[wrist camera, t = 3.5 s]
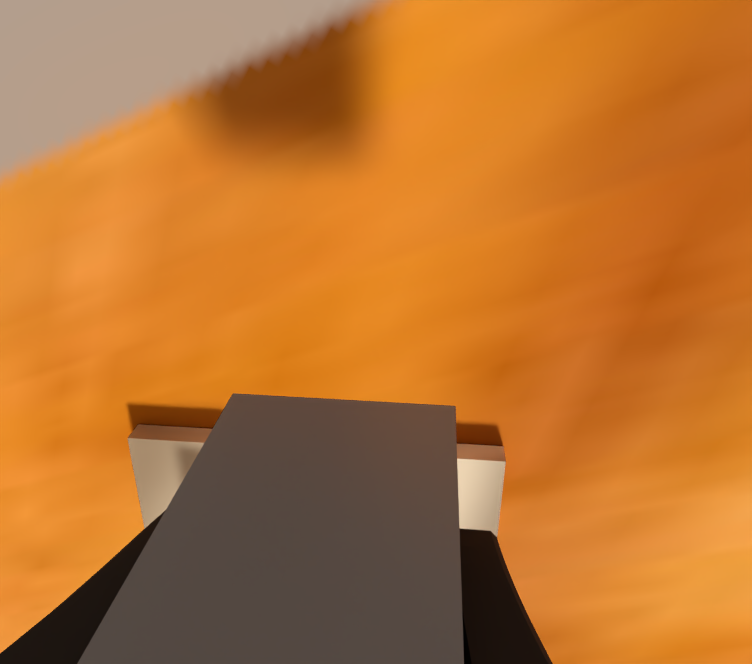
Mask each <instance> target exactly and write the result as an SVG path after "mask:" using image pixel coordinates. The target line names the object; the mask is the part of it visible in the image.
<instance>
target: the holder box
mask: <svg viewBox="0 0 752 664" xmlns="http://www.w3.org/2000/svg"><path fill="white" fill-rule="evenodd" d="M211 431H212V429H208V428H192V427H175V426H158V425H142V424H138V425H137V426H136V428H135V429H134V430H133V432H132V433H131V434H130V436H129V437H128V443H129V448H130V454H131V459H132V464H133V470H134V475H135V480H136V485H137V491H138V496H139V501H140V507H141V512H142V517H143V523H144V528H146V527H147V526H148V525H149V524H150V523H151V522H153V521H154V520H155V519H156V518H157V517H158V516H159V515H161V514H162V513H163V512H164V511H165V510H166V509H167V507H168V505H169V504H170V502H171V500H172V498H173V497H174V495H175V493H176V491H177V490H178V488H179V486H180V484H181V483H182V481H183V479H184V478H185V476H186V474H187V472H188V471H189V469H190V467H191V465H192V464H193V462H194V460H195V458H196V457H197V455H198V453H199V451H200V450H201V448H202V446H203V445H204V443H205V441H206V439H207V438H208V436H209V434H210V432H211ZM505 464H506V460H505V453H504V446H490V445H473V444H457V468H458V498H459V528H461V529H475V530H488V531H491V532H492V533H493V534H494V535H495V536H496V537H497V534H498V525H499V516H500V507H501V499H502V490H503V481H504V472H505Z"/></svg>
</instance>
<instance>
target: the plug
mask: <svg viewBox="0 0 752 664" xmlns="http://www.w3.org/2000/svg"><path fill="white" fill-rule="evenodd" d="M77 664H464V647H463V618H462V588H461V558H460V528H459V498H458V468H457V439H456V409H455V406H446V405H428V404H410V403H392V402H375V401H357V400H339V399H321V398H304V397H286V396H268V395H250V394H232V396H231V398H230V399H229V401H228V403H227V405H226V406H225V408H224V410H223V412H222V413H221V415H220V417H219V419H218V420H217V422H216V424H215V425H214V427H213V429H212V431H211V432H210V434H209V436H208V438H207V439H206V441H205V443H204V445H203V446H202V448H201V450H200V451H199V453H198V455H197V457H196V458H195V460H194V462H193V464H192V465H191V467H190V469H189V471H188V472H187V474H186V476H185V478H184V479H183V481H182V483H181V484H180V486H179V488H178V490H177V491H176V493H175V495H174V497H173V498H172V500H171V502H170V504H169V505H168V507H167V509H166V511H165V512H164V514H163V516H162V517H161V519H160V521H159V523H158V524H157V526H156V528H155V530H154V531H153V533H152V535H151V537H150V538H149V540H148V542H147V544H146V545H145V547H144V549H143V550H142V552H141V554H140V556H139V557H138V559H137V561H136V563H135V564H134V566H133V568H132V570H131V571H130V573H129V575H128V577H127V578H126V580H125V582H124V583H123V585H122V587H121V589H120V590H119V592H118V594H117V596H116V597H115V599H114V601H113V603H112V604H111V606H110V608H109V610H108V611H107V613H106V615H105V616H104V618H103V620H102V622H101V623H100V625H99V627H98V629H97V630H96V632H95V634H94V636H93V637H92V639H91V641H90V643H89V644H88V646H87V648H86V649H85V651H84V653H83V655H82V656H81V658H80V660H79V662H78V663H77Z"/></svg>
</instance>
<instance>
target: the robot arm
mask: <svg viewBox="0 0 752 664" xmlns="http://www.w3.org/2000/svg"><path fill="white" fill-rule="evenodd" d="M165 511H166V510H165ZM165 511H164V512H165ZM164 512H163V513H162V514H161V515H159V516H158V517H157V518H156V519H155V520H154V521H153V522H151V523H150V524H149V525H148V526H147V527H146V528H145V529H144V530H143V531H142V532H141V533H139V534H138V535H137V536H136V537H135V538H134V539H133V540H132V541H131V542H130V543H129V544H127V545H126V546H125V547H124V548H123V549H122V550H121V551H120V552H119V553H118V554H117V555H115V556H114V557H113V558H112V559H111V560H110V561H109V562H108V563H107V564H106V565H104V566H103V567H102V568H101V569H100V570H99V571H98V572H97V573H96V574H94V575H93V576H92V577H91V578H90V579H89V580H88V581H86V582H85V583H84V584H83V585H82V586H81V587H80V588H78V589H77V590H76V591H75V592H74V593H73V594H72V595H70V596H69V597H68V598H67V599H66V600H65V601H64V602H63V603H61V604H60V605H59V606H58V607H57V608H56V609H54V610H53V611H52V612H51V613H50V614H48V615H47V616H46V617H45V618H43V619H42V620H41V621H40V622H39V623H37V624H36V625H35V626H34V627H32V628H31V629H30V630H29V631H28V632H26V633H25V634H24V635H23V636H21V637H20V638H19V639H18V640H16V641H15V642H14V643H13V644H12V645H10V646H9V647H8V648H7V649H5V650H4V651H3V652H2V653H0V664H77V663H78V662H79V660H80V658H81V656H82V655H83V653H84V651H85V649H86V648H87V646H88V644H89V643H90V641H91V639H92V637H93V636H94V634H95V632H96V630H97V629H98V627H99V625H100V623H101V622H102V620H103V618H104V616H105V615H106V613H107V611H108V610H109V608H110V606H111V604H112V603H113V601H114V599H115V597H116V596H117V594H118V592H119V590H120V589H121V587H122V585H123V583H124V582H125V580H126V578H127V577H128V575H129V573H130V571H131V570H132V568H133V566H134V564H135V563H136V561H137V559H138V557H139V556H140V554H141V552H142V550H143V549H144V547H145V545H146V544H147V542H148V540H149V538H150V537H151V535H152V533H153V531H154V530H155V528H156V526H157V524H158V523H159V521H160V519H161V517H162V516H163V514H164ZM460 558H461V588H462V618H463V647H464V664H552V662H551V660H550V658H549V656H548V654H547V652H546V650H545V648H544V646H543V644H542V642H541V640H540V638H539V636H538V635H537V633H536V631H535V629H534V627H533V625H532V623H531V621H530V619H529V617H528V614H527V612H526V610H525V608H524V606H523V604H522V602H521V599H520V597H519V595H518V593H517V590H516V588H515V586H514V583H513V581H512V579H511V576H510V574H509V571H508V569H507V566H506V564H505V561H504V558H503V555H502V552H501V550H500V547H499V543H498V540H497V537H496V536H495V535H494V534H493V533H492V532H491V531H488V530H475V529H461V528H460Z"/></svg>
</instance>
